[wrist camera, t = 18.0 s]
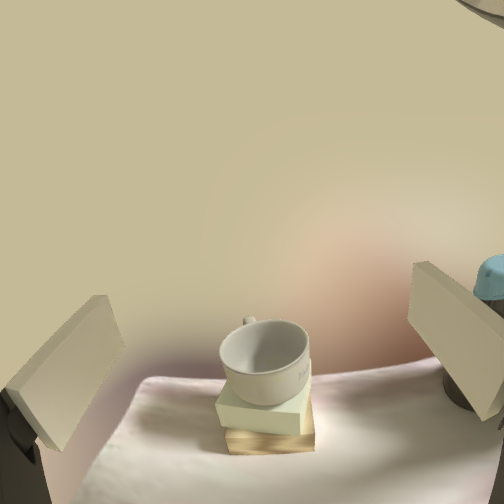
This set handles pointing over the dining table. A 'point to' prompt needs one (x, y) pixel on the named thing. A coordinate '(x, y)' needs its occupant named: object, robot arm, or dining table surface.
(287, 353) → the teacup
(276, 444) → the tower base
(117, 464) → the dining table surface
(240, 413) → the tower top
